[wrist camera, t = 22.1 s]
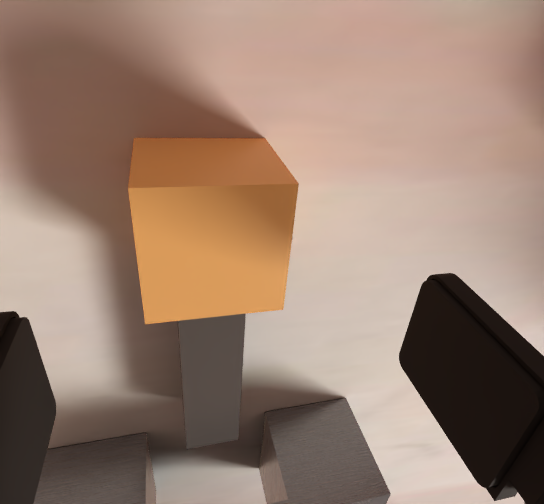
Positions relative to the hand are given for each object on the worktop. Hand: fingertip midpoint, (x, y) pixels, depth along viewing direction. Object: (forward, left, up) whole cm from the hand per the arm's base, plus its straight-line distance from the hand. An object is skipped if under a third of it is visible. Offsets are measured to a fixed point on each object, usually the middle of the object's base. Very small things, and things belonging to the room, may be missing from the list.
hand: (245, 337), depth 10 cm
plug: (-3, +3, -7) cm, 8 cm away
